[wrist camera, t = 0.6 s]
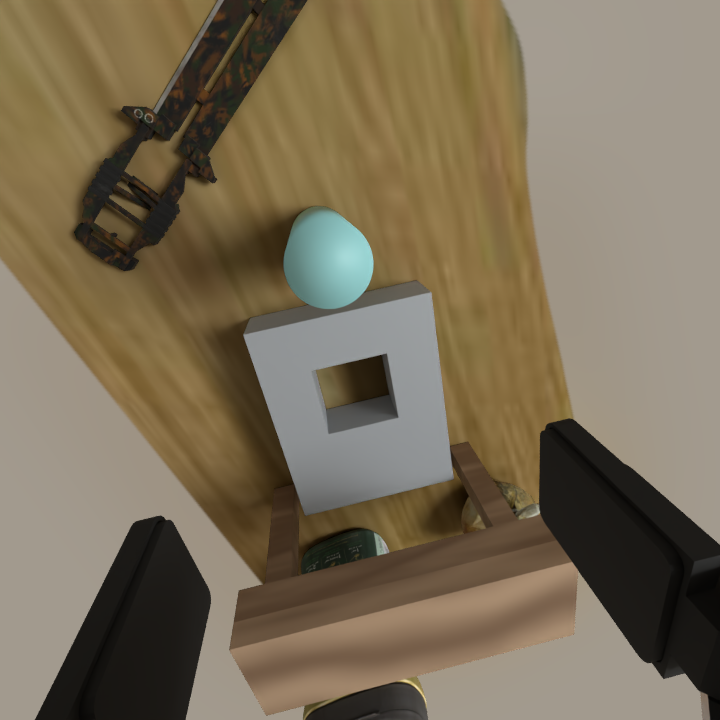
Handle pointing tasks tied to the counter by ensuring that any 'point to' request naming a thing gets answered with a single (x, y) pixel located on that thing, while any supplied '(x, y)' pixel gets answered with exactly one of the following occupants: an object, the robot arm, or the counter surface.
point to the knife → (173, 111)
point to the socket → (361, 419)
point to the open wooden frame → (401, 603)
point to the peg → (327, 259)
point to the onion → (516, 500)
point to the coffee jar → (378, 704)
